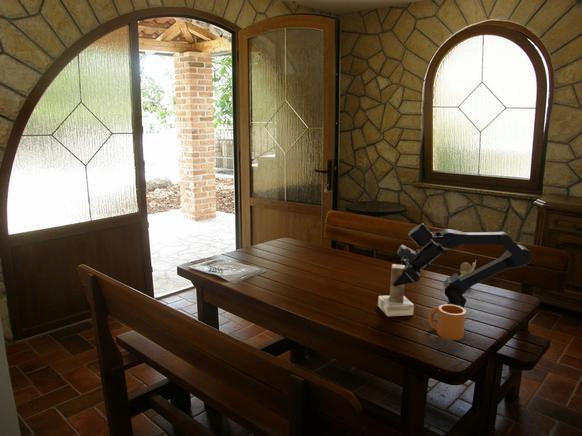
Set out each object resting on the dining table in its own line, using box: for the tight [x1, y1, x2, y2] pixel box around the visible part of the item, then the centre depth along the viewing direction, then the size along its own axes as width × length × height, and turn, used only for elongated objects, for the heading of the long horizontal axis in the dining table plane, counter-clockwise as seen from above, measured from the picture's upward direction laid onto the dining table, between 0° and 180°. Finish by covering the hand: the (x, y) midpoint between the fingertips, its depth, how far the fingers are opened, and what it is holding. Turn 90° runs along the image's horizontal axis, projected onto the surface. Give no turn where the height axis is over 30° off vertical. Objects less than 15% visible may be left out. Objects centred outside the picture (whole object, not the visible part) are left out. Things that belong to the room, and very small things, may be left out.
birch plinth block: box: [377, 295, 415, 317], centre depth 179 cm, size 10×10×4 cm
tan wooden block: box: [389, 263, 406, 303], centre depth 177 cm, size 5×5×13 cm
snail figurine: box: [459, 259, 477, 276], centre depth 207 cm, size 5×6×12 cm
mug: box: [427, 303, 467, 341], centre depth 161 cm, size 9×12×9 cm
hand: (393, 281), depth 178 cm, fingers open, 9 cm apart
